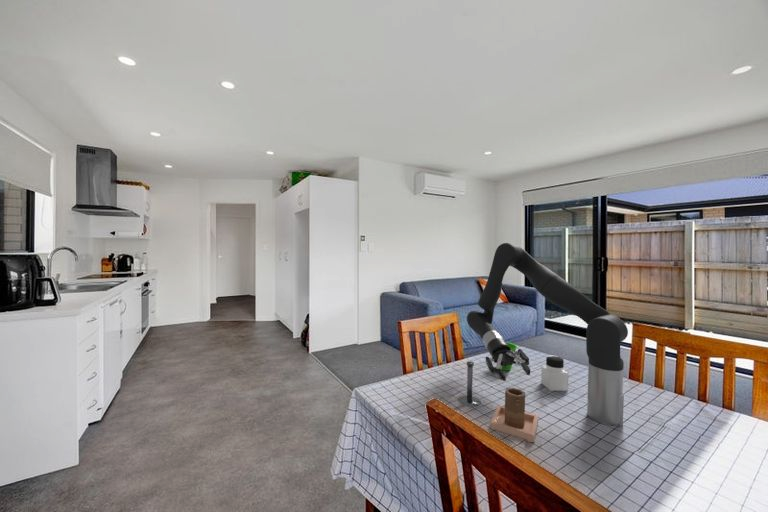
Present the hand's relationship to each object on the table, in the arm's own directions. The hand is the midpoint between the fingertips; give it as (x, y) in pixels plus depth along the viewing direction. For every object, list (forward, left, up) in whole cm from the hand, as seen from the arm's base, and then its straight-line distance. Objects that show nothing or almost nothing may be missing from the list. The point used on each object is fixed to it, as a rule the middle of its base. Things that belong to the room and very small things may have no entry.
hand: (516, 376), depth 106 cm
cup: (+10, -35, -11) cm, 38 cm away
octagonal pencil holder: (-1, +12, -10) cm, 16 cm away
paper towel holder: (+15, +5, -11) cm, 19 cm away
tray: (-1, +12, -11) cm, 16 cm away
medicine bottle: (-10, -26, -11) cm, 30 cm away
